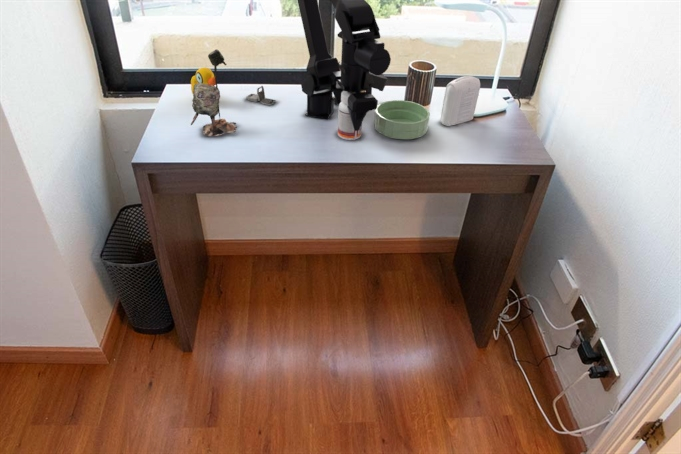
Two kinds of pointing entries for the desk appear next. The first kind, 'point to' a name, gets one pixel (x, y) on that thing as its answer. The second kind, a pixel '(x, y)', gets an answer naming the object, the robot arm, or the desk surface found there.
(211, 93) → the rough stone-bodied figurine
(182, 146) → the desk surface
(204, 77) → the duckling
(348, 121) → the pill bottle
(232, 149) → the desk surface
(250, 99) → the strap clip
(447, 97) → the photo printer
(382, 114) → the bowl
